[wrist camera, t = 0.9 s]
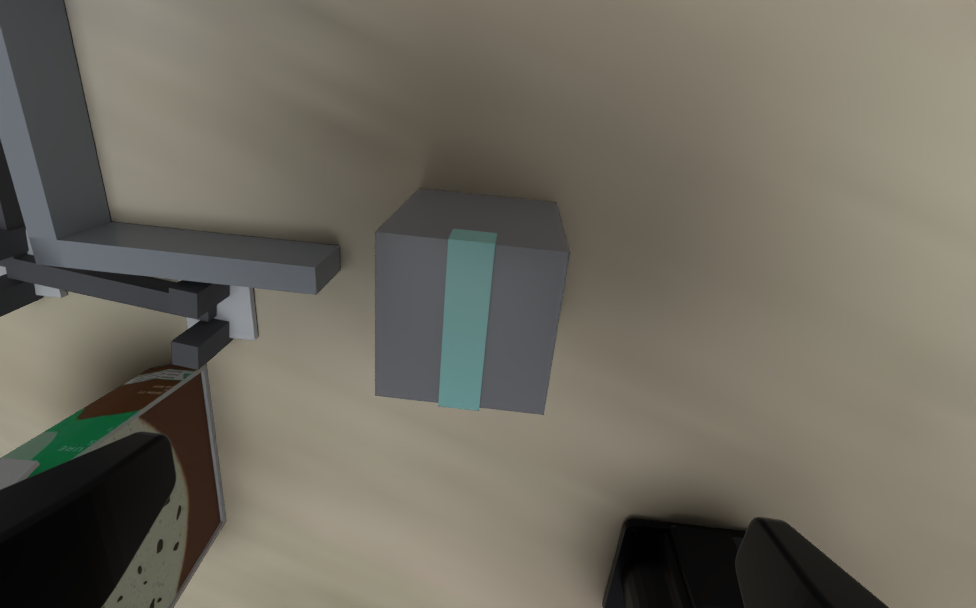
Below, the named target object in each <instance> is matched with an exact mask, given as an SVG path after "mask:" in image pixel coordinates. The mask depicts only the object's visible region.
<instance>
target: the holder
mask: <svg viewBox="0 0 976 608" xmlns="http://www.w3.org/2000/svg"><path fill="white" fill-rule="evenodd" d="M0 139H1V143H2V146H3V150H4V153H5V157H6V160H7V164H8V167H9V171H10V174H11V178H12V181H13V184H14V188H15V191H16V195H17V198H18V202H19V205H20V209H21V212H22V216H23V219H24V223H25V226H26V230H27V233H28V237H29V240H30V244H31V247H32V251H33V254H34V258H35V261H36V264H38V265H47V266H56V267H65V268H75V269H84V270H93V271H102V272H112V273H121V274H130V275H139V276H149V277H158V278H167V279H176V280H186V281H195V282H204V283H213V284H223V285H232V286H241V287H250V288H260V289H269V290H278V291H287V292H297V293H306V294H315V295H316V294H317V293H318V292H319V291H320V290H321V289H322V288H323V287H324V286H325V285H326V284H327V283H328V282H329V281H330V280H331V279H332V278H333V277H334V276H335V275H336V274H337V273H338V272H339V271H340V246H336V245H326V244H317V243H307V242H298V241H288V240H279V239H269V238H260V237H250V236H241V235H231V234H222V233H212V232H203V231H193V230H184V229H175V228H165V227H156V226H146V225H137V224H127V223H118V222H111V219H110V215H109V210H108V205H107V201H106V196H105V192H104V187H103V182H102V178H101V173H100V168H99V164H98V159H97V155H96V150H95V145H94V141H93V136H92V131H91V127H90V122H89V118H88V113H87V108H86V104H85V99H84V94H83V90H82V85H81V81H80V76H79V71H78V67H77V62H76V57H75V53H74V48H73V43H72V39H71V34H70V30H69V25H68V20H67V16H66V11H65V6H64V2H63V0H0Z"/></svg>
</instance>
